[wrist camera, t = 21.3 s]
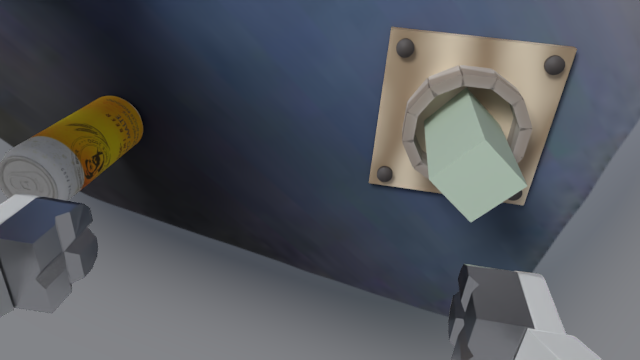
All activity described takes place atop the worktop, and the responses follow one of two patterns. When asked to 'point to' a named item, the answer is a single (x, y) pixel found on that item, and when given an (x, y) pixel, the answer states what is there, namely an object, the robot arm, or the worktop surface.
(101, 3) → the worktop surface
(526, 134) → the bolt socket plate
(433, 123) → the green peg
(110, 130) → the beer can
